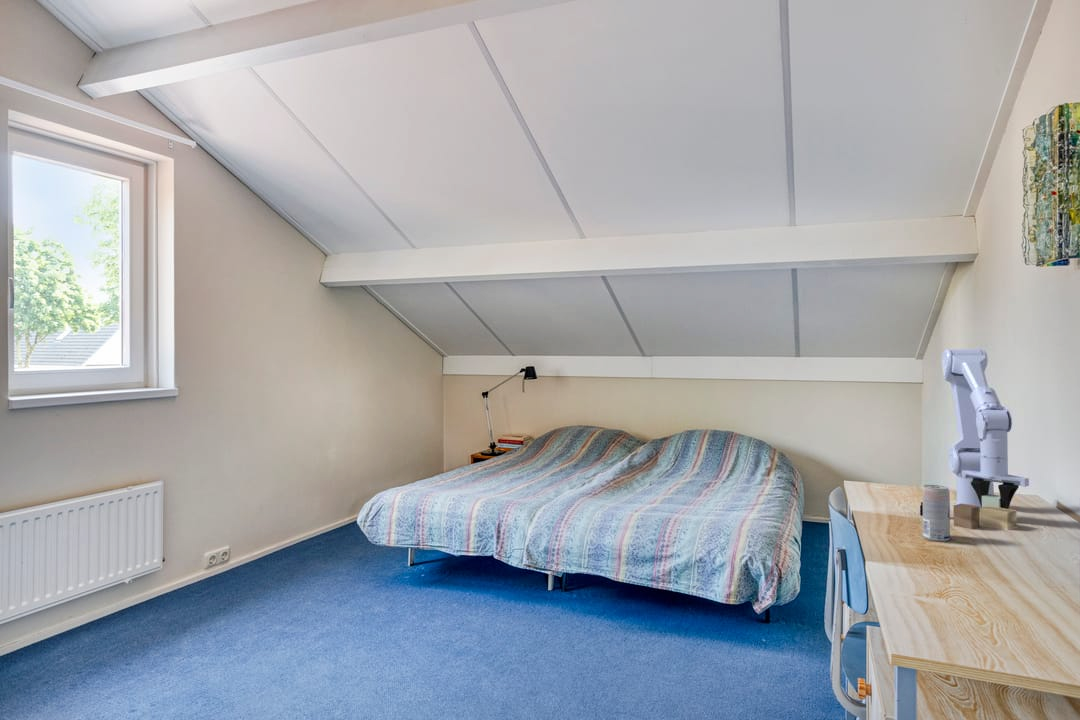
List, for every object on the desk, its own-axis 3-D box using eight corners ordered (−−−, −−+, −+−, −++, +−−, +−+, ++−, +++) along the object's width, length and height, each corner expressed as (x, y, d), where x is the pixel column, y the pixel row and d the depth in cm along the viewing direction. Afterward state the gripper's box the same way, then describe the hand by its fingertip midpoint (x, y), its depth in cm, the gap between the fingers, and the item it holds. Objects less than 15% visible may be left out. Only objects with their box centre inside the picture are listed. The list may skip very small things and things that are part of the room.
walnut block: (962, 525, 164) (962, 503, 164) (979, 529, 161) (979, 506, 161) (953, 527, 162) (953, 505, 162) (971, 531, 159) (971, 508, 159)
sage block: (990, 515, 170) (989, 494, 170) (1007, 518, 167) (1007, 496, 167) (982, 517, 168) (981, 495, 168) (999, 520, 165) (999, 498, 165)
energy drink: (948, 537, 154) (947, 485, 154) (951, 543, 149) (951, 489, 149) (921, 534, 156) (921, 484, 156) (924, 540, 151) (923, 488, 151)
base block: (989, 521, 165) (989, 505, 165) (1016, 526, 160) (1016, 510, 160) (980, 524, 163) (979, 508, 163) (1007, 529, 158) (1007, 512, 158)
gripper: (955, 454, 172) (955, 507, 172) (1018, 462, 159) (1019, 518, 159) (969, 452, 175) (969, 503, 175) (1032, 459, 163) (1033, 514, 163)
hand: (994, 510), depth 168 cm, fingers closed on sage block, 4 cm apart
